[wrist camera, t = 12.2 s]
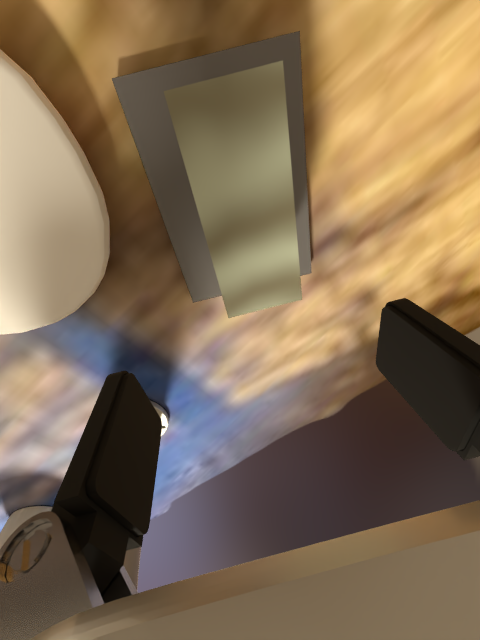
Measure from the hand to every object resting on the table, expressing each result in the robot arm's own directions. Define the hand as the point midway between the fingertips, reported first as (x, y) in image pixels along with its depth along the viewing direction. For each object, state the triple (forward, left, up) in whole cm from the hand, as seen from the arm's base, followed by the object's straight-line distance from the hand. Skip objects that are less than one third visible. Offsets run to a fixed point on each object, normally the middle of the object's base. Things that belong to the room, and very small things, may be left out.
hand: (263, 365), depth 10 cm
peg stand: (+2, -2, -24) cm, 24 cm away
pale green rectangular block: (+2, -2, -18) cm, 18 cm away
